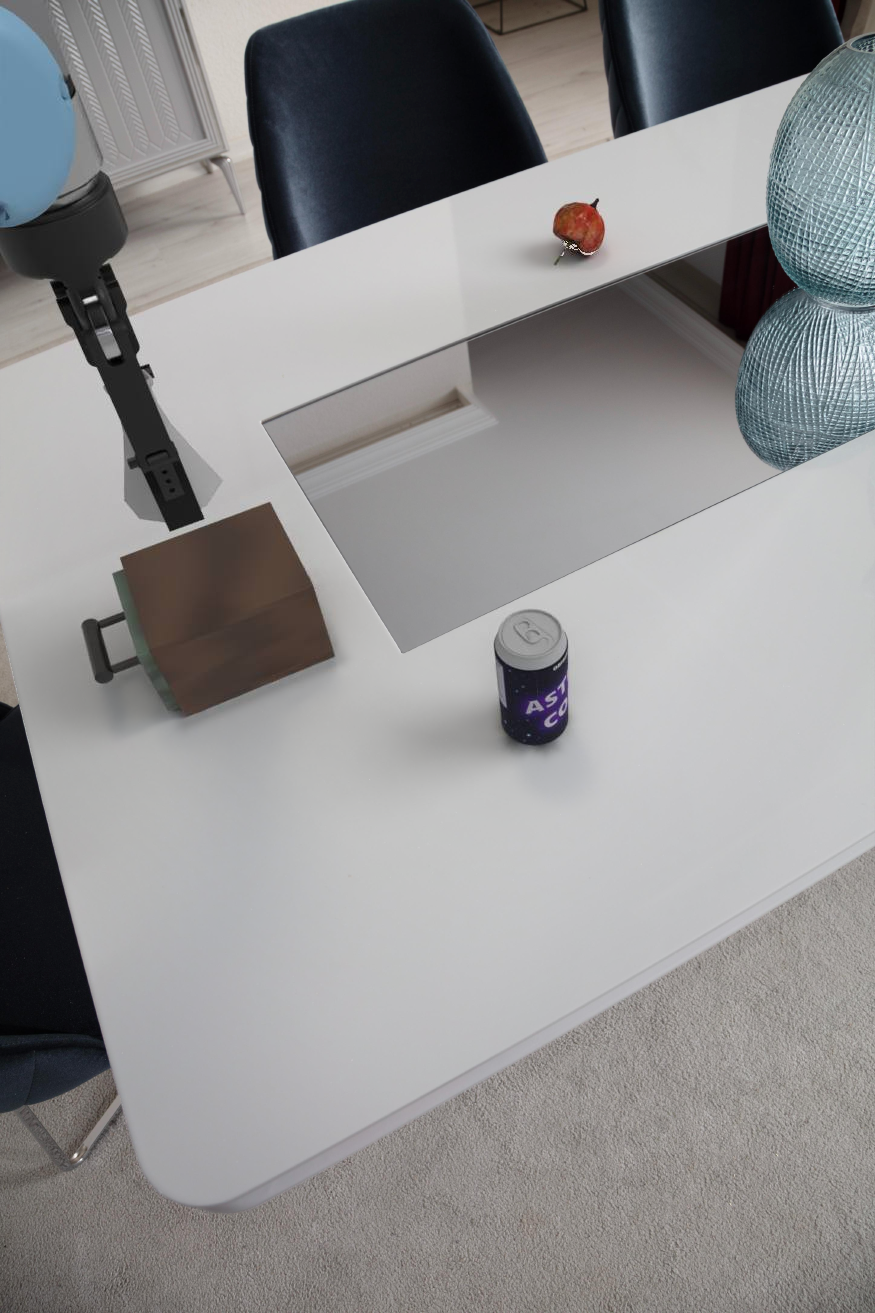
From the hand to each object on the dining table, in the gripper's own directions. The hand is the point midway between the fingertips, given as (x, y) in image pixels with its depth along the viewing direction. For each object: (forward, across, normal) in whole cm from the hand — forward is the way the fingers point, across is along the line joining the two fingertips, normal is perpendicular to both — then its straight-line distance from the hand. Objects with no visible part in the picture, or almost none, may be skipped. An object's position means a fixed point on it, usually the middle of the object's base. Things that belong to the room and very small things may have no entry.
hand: (173, 490), depth 71 cm
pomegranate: (+22, -49, +62) cm, 82 cm away
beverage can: (+21, +19, +20) cm, 35 cm away
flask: (0, 0, 0) cm, 0 cm away
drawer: (+20, -3, -4) cm, 21 cm away
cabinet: (+21, -3, 0) cm, 21 cm away
